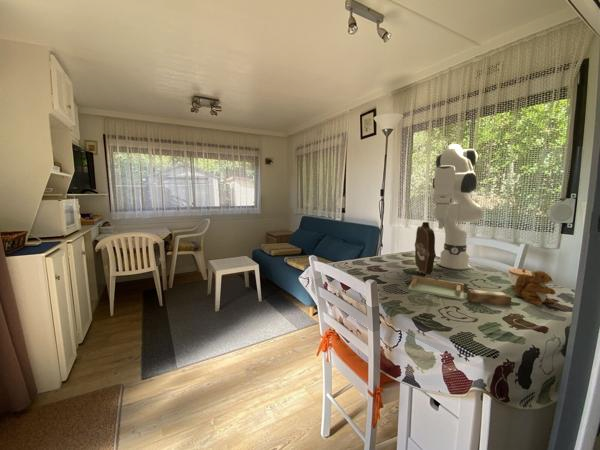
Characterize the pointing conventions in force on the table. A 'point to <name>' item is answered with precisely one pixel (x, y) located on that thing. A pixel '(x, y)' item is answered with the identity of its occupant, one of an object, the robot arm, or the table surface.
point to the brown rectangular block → (489, 297)
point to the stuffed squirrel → (534, 287)
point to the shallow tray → (437, 287)
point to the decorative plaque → (425, 249)
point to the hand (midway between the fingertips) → (441, 227)
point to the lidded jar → (517, 274)
